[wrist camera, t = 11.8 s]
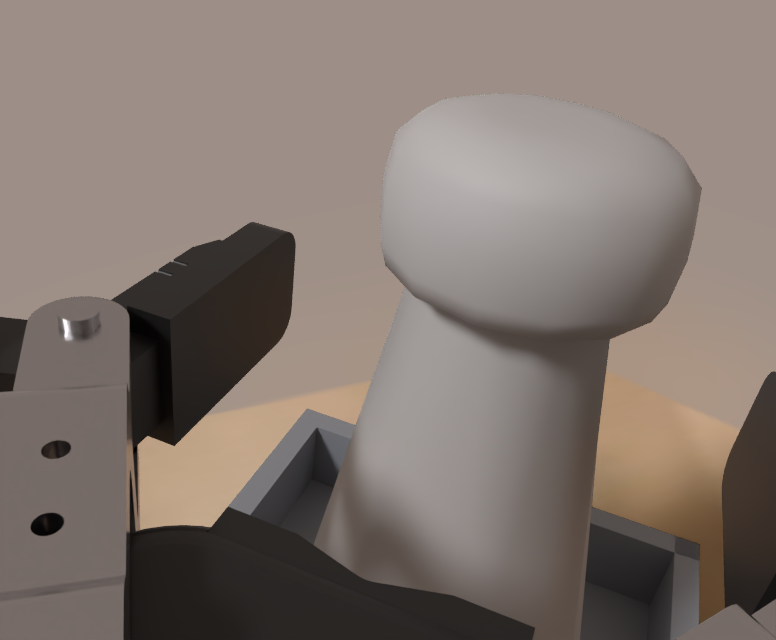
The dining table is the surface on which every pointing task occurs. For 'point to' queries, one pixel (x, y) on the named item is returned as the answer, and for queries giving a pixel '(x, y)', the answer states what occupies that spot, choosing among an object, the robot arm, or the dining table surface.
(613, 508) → the dining table surface
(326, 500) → the tray
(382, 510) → the salt shaker
